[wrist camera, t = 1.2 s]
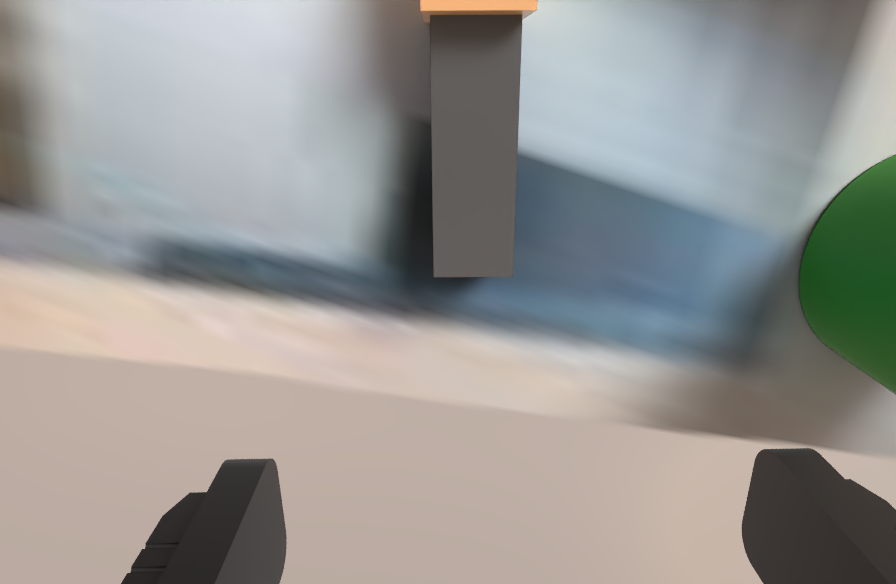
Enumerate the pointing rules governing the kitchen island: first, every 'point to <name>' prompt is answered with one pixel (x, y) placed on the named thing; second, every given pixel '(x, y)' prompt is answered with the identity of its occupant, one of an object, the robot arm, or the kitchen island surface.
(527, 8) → the plug
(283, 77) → the kitchen island surface
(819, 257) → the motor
